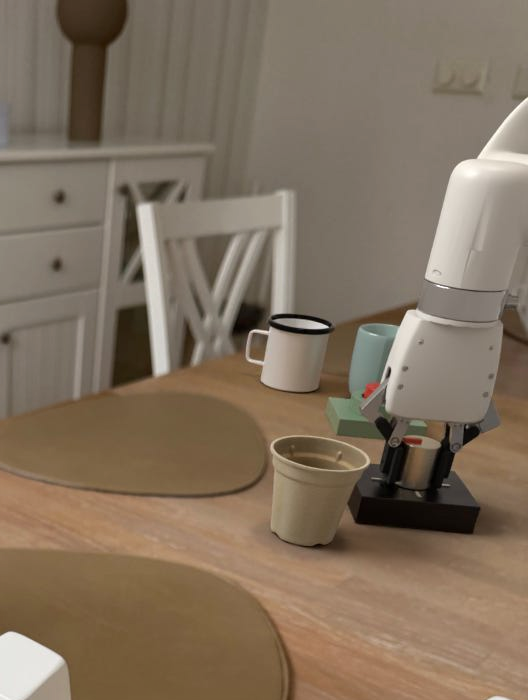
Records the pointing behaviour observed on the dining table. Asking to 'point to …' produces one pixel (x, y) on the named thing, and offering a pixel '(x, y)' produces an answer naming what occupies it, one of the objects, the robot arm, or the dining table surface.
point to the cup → (370, 354)
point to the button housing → (361, 418)
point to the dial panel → (413, 504)
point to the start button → (370, 389)
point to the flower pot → (312, 486)
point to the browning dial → (418, 462)
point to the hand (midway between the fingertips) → (411, 479)
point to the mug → (293, 351)
